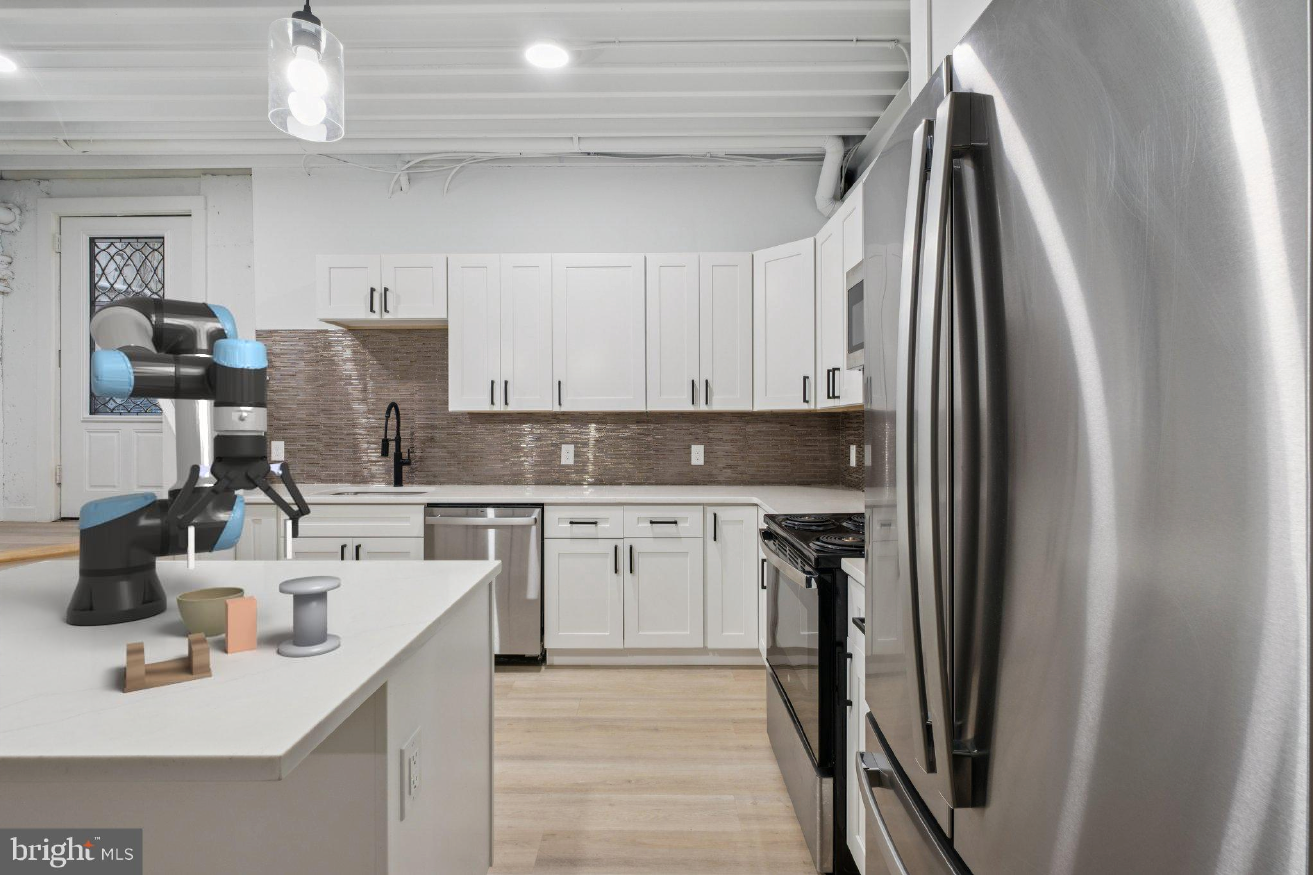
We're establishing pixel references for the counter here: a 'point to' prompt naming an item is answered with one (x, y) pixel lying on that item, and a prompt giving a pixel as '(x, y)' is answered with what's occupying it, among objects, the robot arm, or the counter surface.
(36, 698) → the counter surface
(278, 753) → the counter surface
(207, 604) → the flower pot
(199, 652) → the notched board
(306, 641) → the bobbin
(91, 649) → the counter surface
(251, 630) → the peach rectangular block
